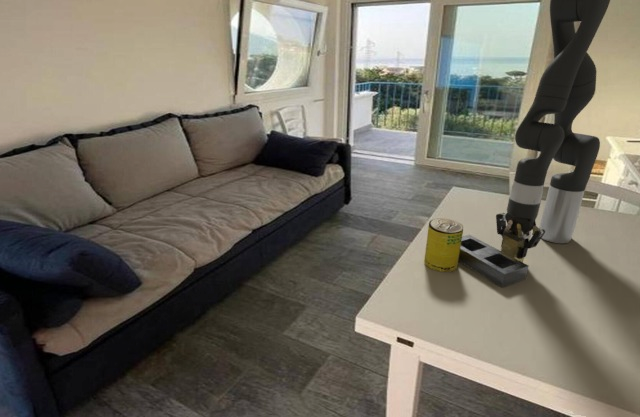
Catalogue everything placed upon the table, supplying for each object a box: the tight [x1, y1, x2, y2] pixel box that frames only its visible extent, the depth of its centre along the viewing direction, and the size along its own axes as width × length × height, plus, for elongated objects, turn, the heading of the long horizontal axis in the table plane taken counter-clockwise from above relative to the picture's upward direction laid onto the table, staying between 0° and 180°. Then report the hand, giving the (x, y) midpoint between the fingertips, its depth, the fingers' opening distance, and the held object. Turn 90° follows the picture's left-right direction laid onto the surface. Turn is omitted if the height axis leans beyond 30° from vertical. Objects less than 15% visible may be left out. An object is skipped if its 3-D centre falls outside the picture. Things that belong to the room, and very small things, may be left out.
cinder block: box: [458, 234, 529, 288], centre depth 105 cm, size 9×20×4 cm, turn 26°
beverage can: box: [423, 217, 464, 273], centre depth 105 cm, size 9×9×12 cm
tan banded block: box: [500, 231, 526, 263], centre depth 106 cm, size 5×5×9 cm
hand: (512, 253), depth 107 cm, fingers closed on tan banded block, 4 cm apart
